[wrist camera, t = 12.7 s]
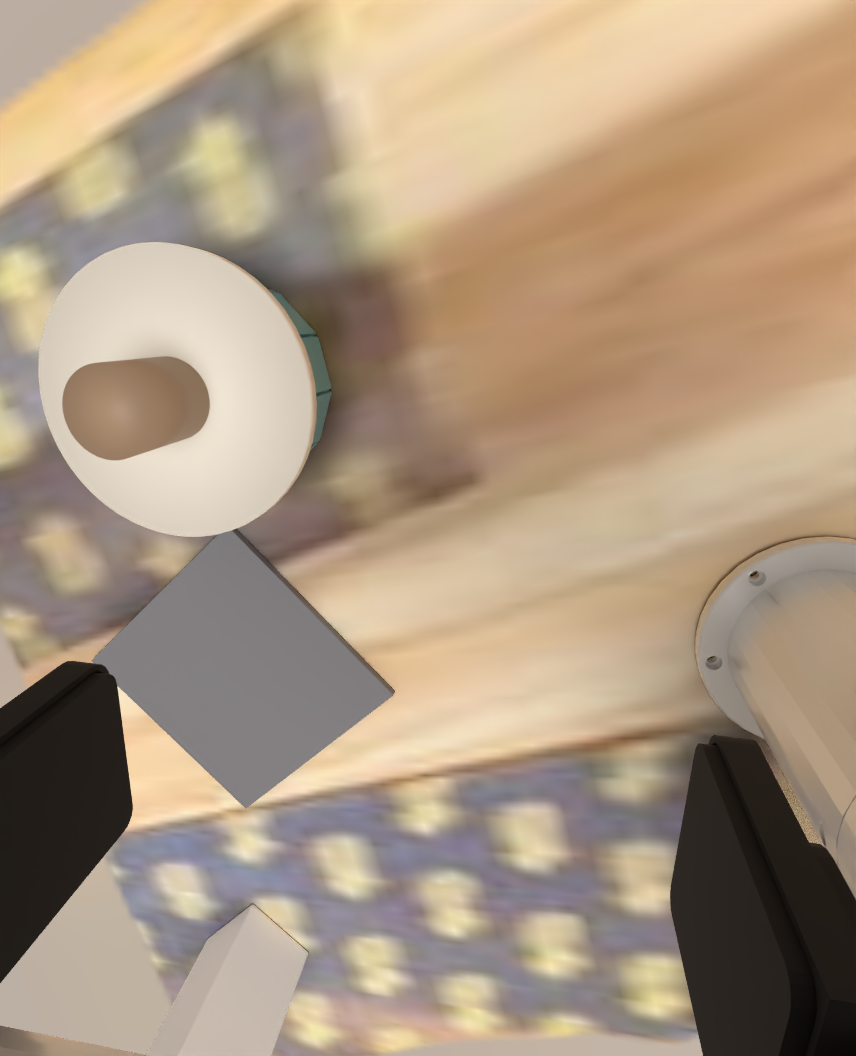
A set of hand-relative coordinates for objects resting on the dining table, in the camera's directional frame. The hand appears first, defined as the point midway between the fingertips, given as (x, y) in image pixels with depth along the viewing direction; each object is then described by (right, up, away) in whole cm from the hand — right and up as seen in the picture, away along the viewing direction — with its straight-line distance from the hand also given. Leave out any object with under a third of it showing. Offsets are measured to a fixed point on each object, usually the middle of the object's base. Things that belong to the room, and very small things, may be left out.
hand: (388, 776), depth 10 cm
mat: (-12, -6, +34) cm, 37 cm away
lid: (-12, +10, +22) cm, 27 cm away
